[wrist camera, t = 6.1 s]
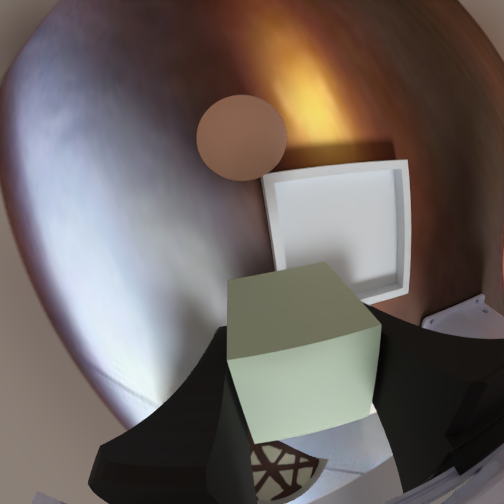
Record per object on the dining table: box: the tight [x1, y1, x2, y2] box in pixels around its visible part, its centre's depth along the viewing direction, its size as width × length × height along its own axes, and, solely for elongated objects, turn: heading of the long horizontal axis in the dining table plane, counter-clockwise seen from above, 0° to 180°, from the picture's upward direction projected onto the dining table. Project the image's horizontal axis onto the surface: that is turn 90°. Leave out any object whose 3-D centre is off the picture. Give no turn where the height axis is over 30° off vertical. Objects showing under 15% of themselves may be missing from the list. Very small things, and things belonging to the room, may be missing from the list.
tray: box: [260, 159, 411, 305], centre depth 18 cm, size 10×10×1 cm
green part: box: [227, 261, 382, 444], centre depth 9 cm, size 4×4×5 cm
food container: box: [248, 427, 328, 504], centre depth 18 cm, size 12×6×10 cm
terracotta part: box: [197, 95, 287, 181], centre depth 14 cm, size 4×4×5 cm
